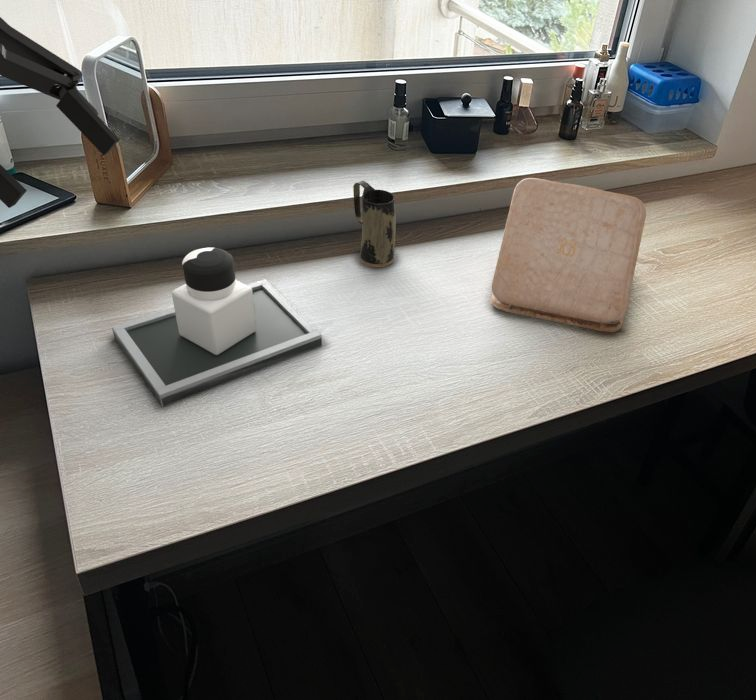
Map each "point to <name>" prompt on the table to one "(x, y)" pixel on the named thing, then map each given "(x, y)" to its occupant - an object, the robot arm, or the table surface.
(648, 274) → the table surface
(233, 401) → the table surface
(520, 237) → the case
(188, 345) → the chalkboard
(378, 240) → the mug
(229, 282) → the medicine bottle
